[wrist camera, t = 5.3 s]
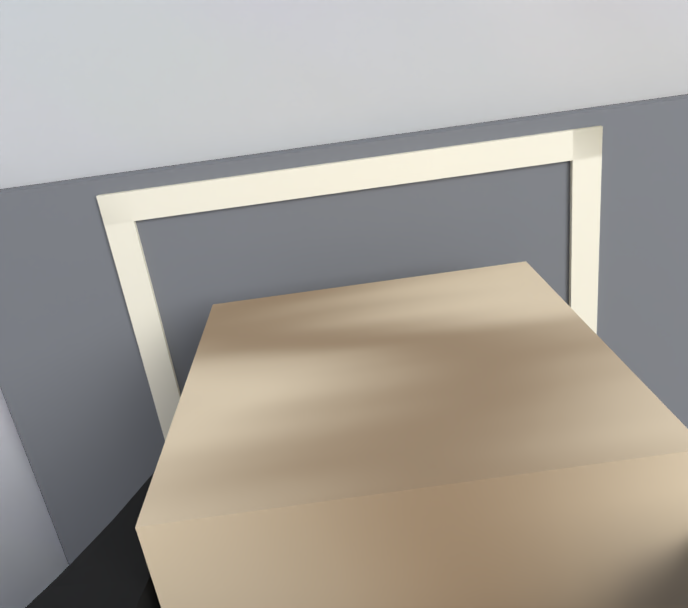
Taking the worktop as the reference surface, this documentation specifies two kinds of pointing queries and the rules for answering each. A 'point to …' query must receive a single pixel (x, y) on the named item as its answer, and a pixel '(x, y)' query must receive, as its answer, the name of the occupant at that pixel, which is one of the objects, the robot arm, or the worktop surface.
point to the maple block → (417, 456)
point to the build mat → (320, 266)
